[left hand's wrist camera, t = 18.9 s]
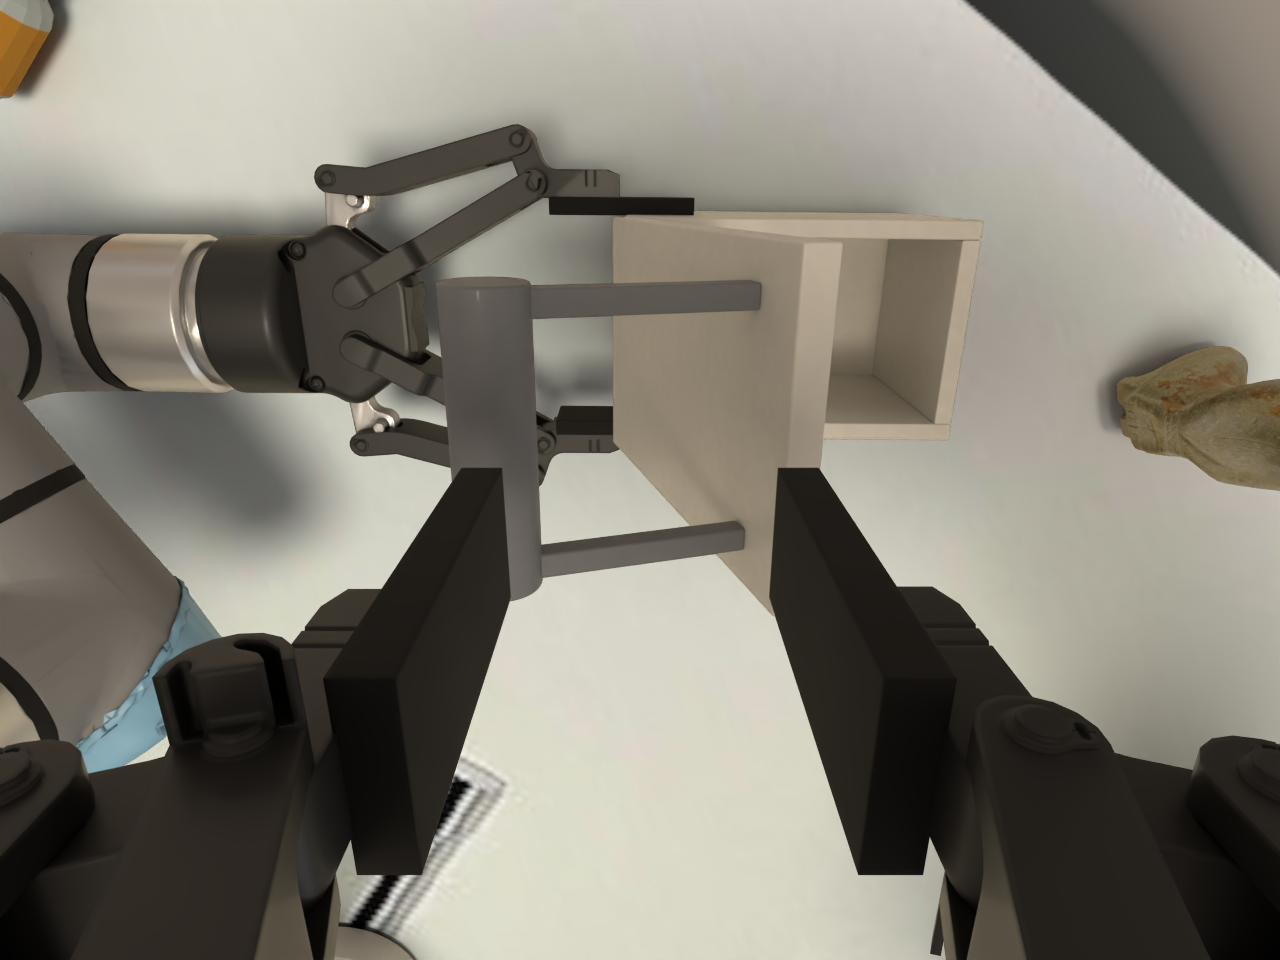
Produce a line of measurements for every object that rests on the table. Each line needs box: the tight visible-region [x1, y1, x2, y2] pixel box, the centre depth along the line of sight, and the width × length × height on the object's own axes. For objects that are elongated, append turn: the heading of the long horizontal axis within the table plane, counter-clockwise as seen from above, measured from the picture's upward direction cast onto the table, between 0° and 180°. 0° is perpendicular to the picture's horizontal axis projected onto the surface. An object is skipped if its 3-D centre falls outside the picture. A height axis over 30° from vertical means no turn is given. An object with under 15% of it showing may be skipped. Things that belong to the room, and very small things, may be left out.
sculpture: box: [1117, 346, 1280, 491], centre depth 38 cm, size 6×7×15 cm
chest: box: [626, 211, 984, 440], centre depth 38 cm, size 15×10×11 cm, turn 89°
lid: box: [436, 217, 843, 616], centre depth 25 cm, size 16×10×9 cm
